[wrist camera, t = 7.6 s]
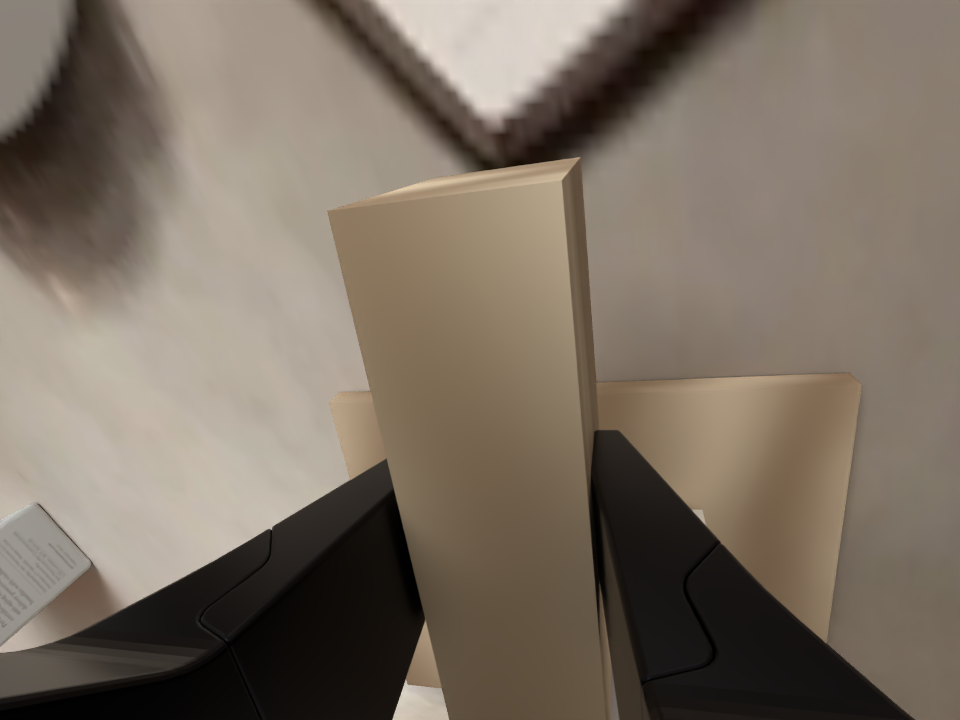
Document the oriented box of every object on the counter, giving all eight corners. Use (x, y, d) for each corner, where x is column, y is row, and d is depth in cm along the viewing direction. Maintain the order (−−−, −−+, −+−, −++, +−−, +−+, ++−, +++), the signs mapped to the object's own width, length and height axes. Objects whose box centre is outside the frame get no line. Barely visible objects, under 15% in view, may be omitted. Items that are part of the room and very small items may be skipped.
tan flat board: (849, 373, 15) (861, 385, 15) (807, 706, 20) (815, 727, 20) (339, 392, 19) (328, 403, 18) (413, 668, 24) (407, 684, 24)
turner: (667, 145, 8) (713, 159, 5) (675, 747, 13) (700, 976, 10) (366, 187, 9) (220, 225, 6) (479, 723, 15) (438, 918, 11)
